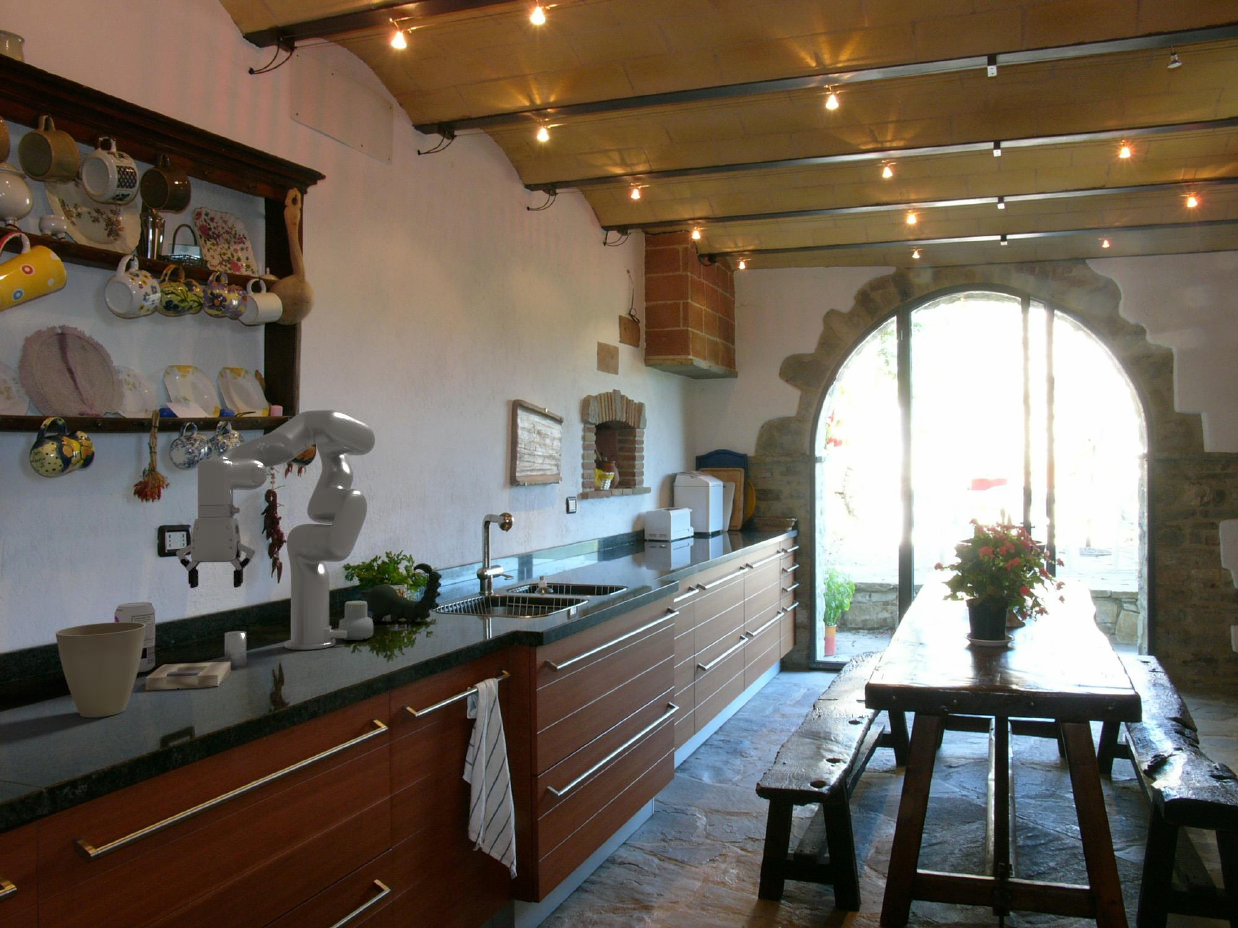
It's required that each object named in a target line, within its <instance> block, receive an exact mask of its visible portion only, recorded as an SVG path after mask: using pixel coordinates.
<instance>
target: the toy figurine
mask: <svg viewBox="0 0 1238 928" xmlns="http://www.w3.org/2000/svg"><path fill="white" fill-rule="evenodd" d="M417 570H418V571H419V570H421V571H422V572H424V573H425V574H427V575H428V577H427V578H428V580H427V581H426V583H425V587H426V588H425V589H424V591H423V596H422V597H421V598H420V599H419V600H417V601H416V600H409V599H408V598H407V597H406V596H401V595H400V594H399V593H398V591H397V590H396V589H395V588H394V587H393V586H391V585H388V584H378V585H376V586H374V587H373V588H372V589H371V590H359V591H358V594H359V595H361V596H362V597H363V598H364V599H365V600H366V602H367V609H368V611H369V612H371V613H372V616H371V619H372V621H374V622H376V621H380V622H381V621H383V620H384V617H387V616H390V617H389V618H390V621H392V622H393V623H396V622H398V621H399V620H402V619H404V621H405V623H406V624H410V623H412V622H415V621H418V619H419V620H421V621H424V620H426V619H429V618H430V617H431V613H430V610H436V609H438V608H439V607H440V604H439V603H438V602H437V598H439V597H440V596H441V592H440V591H439V588H441V586H442V583H441V582H440V579H442V574H440V573H439V572H438V571H437V570H433V568H432V566H431V565H430V564H427V563H423V562H421V563H418V564H416V565H415V566H414V567H413V569H412V571H413V572H415V571H417Z"/></svg>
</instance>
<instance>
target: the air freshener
mask: <svg viewBox="0 0 1238 928" xmlns="http://www.w3.org/2000/svg"><path fill="white" fill-rule="evenodd" d="M373 621H374V620H373V619H372V617H368V606H367V600H366V601H365V600H352V601H346V602H345V603H344V618H341V619H339V622H338V630H343V631H345V630H347V638H341V639H343V640H344V641H347V640H357V641H364V640H363V639H365V640H368V639H369V638H371V637H372V636H373V635H374V622H373Z"/></svg>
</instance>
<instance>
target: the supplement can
mask: <svg viewBox="0 0 1238 928" xmlns="http://www.w3.org/2000/svg"><path fill="white" fill-rule="evenodd" d="M114 622H137V623H144V624H146V629H145V637H144V644H143V650H142V655H141V660H140V664H139V668H138V672H137V674H138V673H143V672H149V671H151V670H153V668H154V667H155V666H156V609H155V608H154V606H153V603H152V602H144V601H143V602H142V601H141V602H128V603H121V604H118V605H117V607H116V609H115V611H114Z"/></svg>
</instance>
